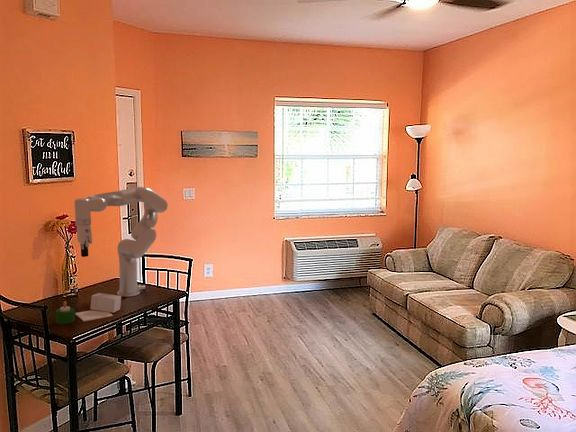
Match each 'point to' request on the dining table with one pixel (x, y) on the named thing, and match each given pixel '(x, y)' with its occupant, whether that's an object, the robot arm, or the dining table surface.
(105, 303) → the supplement box
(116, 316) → the dining table surface
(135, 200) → the robot arm
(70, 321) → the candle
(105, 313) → the mat
